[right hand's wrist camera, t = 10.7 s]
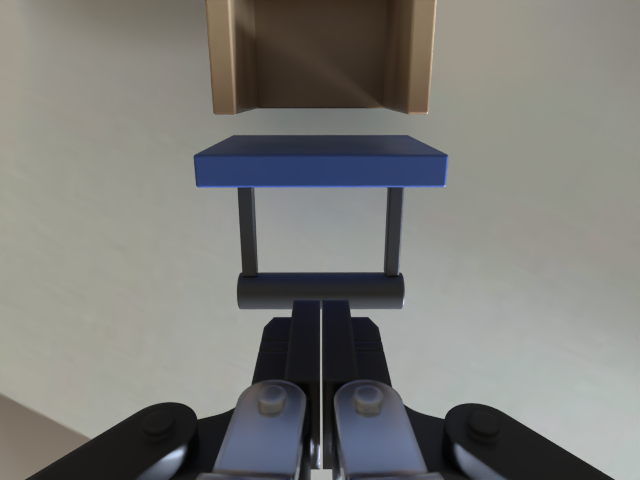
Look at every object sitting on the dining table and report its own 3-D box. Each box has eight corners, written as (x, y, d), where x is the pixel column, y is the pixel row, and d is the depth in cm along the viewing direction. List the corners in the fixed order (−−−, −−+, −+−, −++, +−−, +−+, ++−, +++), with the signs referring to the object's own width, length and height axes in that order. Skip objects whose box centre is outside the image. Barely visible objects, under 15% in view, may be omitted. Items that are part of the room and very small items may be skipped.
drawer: (401, 263, 26) (433, 331, 18) (239, 263, 26) (208, 332, 18) (434, -291, 18) (510, -546, 11) (206, -291, 18) (131, -547, 11)
